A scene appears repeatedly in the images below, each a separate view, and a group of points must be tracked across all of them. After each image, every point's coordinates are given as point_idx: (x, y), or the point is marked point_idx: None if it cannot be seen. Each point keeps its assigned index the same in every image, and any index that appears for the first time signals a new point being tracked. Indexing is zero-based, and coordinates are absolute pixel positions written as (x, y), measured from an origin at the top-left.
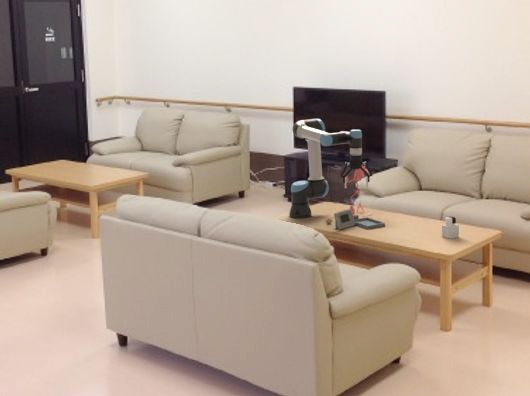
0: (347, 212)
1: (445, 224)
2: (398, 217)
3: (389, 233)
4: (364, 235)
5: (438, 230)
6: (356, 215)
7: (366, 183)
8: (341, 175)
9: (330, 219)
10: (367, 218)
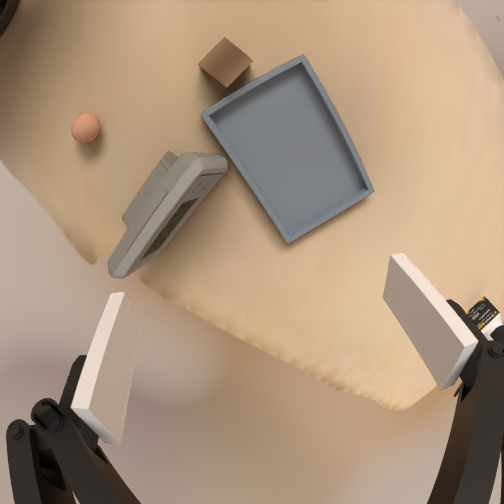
0: (179, 206)
1: (487, 328)
2: (438, 41)
3: (356, 294)
4: (262, 321)
5: (486, 255)
6: (239, 66)
7: (407, 313)
8: (52, 472)
9: (89, 136)
10: (302, 65)
